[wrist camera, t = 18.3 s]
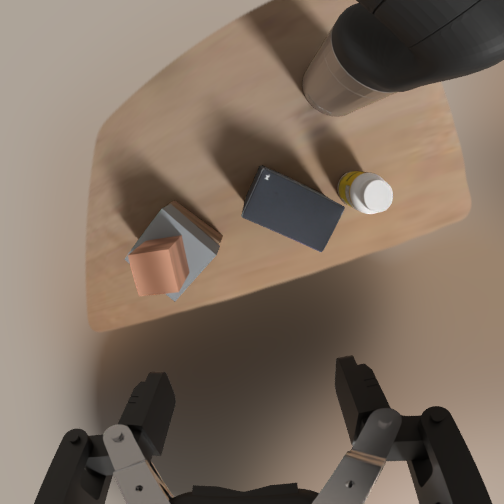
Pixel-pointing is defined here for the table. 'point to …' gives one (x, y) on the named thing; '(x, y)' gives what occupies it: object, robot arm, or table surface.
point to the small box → (291, 209)
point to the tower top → (194, 240)
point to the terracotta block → (159, 266)
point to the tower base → (198, 222)
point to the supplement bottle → (365, 192)
